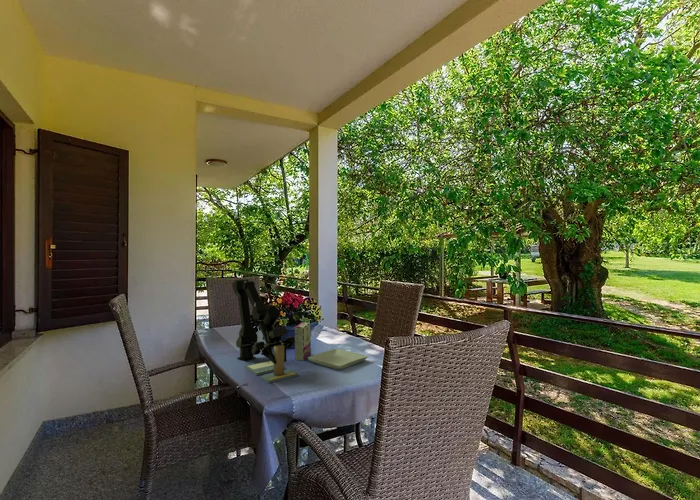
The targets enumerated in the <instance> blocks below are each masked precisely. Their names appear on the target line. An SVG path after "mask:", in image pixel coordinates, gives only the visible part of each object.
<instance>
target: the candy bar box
mask: <svg viewBox="0 0 700 500" xmlns="http://www.w3.org/2000/svg"><path fill="white" fill-rule="evenodd" d="M311 335H312V334H311V322H300V323H299V324H297V325H296V326H294V338H295V343H294V360H295V361H302V362H303V361H306V360H307V359H308V357H310V355H311V354H312V350H311V349H312V348H311V345H312V343H311Z"/></svg>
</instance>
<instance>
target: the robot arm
mask: <svg viewBox="0 0 700 500" xmlns="http://www.w3.org/2000/svg"><path fill="white" fill-rule="evenodd" d="M231 286H232V287H231V288H232V289H233V293H234V295H235V296H236V298H237V300H238V307H239V315H240V324H241V325H240V326H241V327H240V329H239V332H238V338H237V339H236V342H235V345H236V347H237V348H239V356H238V357H236V359H237V360H240V361H244V362H247V361H249V360H254V359H256V356H255V355H261V356H264V357H265V358H266V359H268V361H272V362H273V363H274V364H276V360H275V357H274V352H273V350H272V348H273V349H274V346H275V345H284V363H286V362H287V350H288V349H291V348H292V347H293V345H295V336H287V337H284V336H285V335H286V334H287V333H288V330H287V327H286V326H281V327H280V328H275V327H274V326H275V325H276V323H277V322H278V319H279V318H280V316H281V311H280V310H279V309H278V308H276V307H274V306H273V305H270V306H268V305H267V304H266V303H264V302H263V301H262V298H261V297H260V294H259V293H258V290H257V288H256V284H255V281H253V280H249V279H247V278H245V279H235V280H234V281H233V282H232V285H231ZM250 305H251V306H252V310H250ZM251 314H252V318H253V320H254V321H256V322H259V321H260V322H259V324H258V328H257V327H255V326H253V325H252V324H253V323H252V318H251ZM257 329H258V330H260V332H261V335H262V337H261V338H262V340H263V341H258V339H259V337H258V334H257ZM282 337H284V339H283V340H282ZM281 340H282V341H281Z"/></svg>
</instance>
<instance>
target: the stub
mask: <svg viewBox="0 0 700 500" xmlns="http://www.w3.org/2000/svg"><path fill="white" fill-rule="evenodd" d="M273 355H274V357H275V360H276V364H274V372H271V373H267V374H263V375H260V379H262V380H263V381H265V382H266V383H268V384H271V383H275V382H280V381H284V380H288V379H292V378H295V377H299V376H300V375H299V372H297V371H294V370H293V369H291V368H290V369H286V370H285V369H284V366H285V362H284V345H275V346H274V347H273Z"/></svg>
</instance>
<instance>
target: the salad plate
mask: <svg viewBox="0 0 700 500" xmlns="http://www.w3.org/2000/svg"><path fill="white" fill-rule="evenodd" d="M307 359H308V361H310V362H311V363H314V364H317V365H320V366H323V367H327V368H331V369H335V370H343V369H346V368H349V367H351V366H354V365H356V364H359V363H361V362H364V361H366V359H368V356H367V355H365V354H362V353H358V352H353V351H349V350H346V349H341V348H340V349H339V348H333V349H330V350H326V351H324V352H320V353H317V354H313V355H311V356H310V355H309V356H308V357H307Z"/></svg>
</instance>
